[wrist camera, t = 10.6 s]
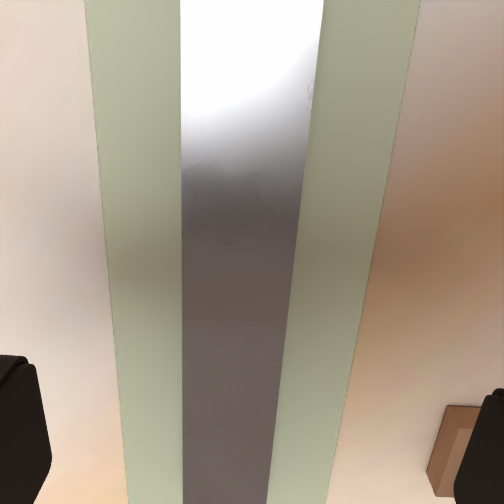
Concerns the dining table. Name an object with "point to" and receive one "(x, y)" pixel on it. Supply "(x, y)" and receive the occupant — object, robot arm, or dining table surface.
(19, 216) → the dining table surface
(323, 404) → the board
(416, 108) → the dining table surface
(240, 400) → the rail
